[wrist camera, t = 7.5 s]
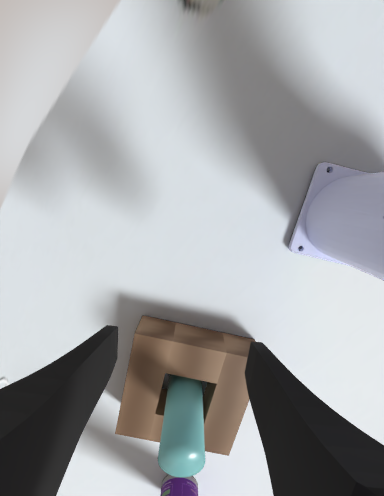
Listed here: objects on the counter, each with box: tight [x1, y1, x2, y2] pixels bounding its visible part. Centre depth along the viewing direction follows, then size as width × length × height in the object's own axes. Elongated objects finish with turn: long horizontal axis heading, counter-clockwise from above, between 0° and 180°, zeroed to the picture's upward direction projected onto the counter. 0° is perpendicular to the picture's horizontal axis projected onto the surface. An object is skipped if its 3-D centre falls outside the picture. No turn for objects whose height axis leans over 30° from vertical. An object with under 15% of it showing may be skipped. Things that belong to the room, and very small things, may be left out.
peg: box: [158, 374, 205, 477], centre depth 20 cm, size 4×4×8 cm
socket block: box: [115, 315, 256, 456], centre depth 22 cm, size 12×12×3 cm
